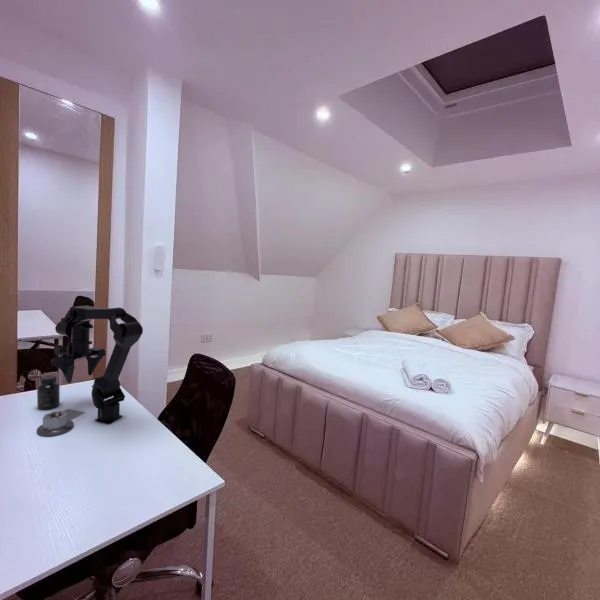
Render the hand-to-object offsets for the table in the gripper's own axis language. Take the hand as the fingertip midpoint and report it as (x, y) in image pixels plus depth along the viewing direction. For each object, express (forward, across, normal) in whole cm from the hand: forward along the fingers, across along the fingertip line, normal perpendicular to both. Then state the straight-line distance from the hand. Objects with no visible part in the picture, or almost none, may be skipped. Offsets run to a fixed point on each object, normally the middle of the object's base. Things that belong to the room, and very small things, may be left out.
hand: (79, 378), depth 124 cm
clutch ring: (+11, +15, +6) cm, 19 cm away
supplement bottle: (+12, +3, -11) cm, 17 cm away
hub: (+12, +15, +6) cm, 20 cm away
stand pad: (+12, +6, +1) cm, 13 cm away
